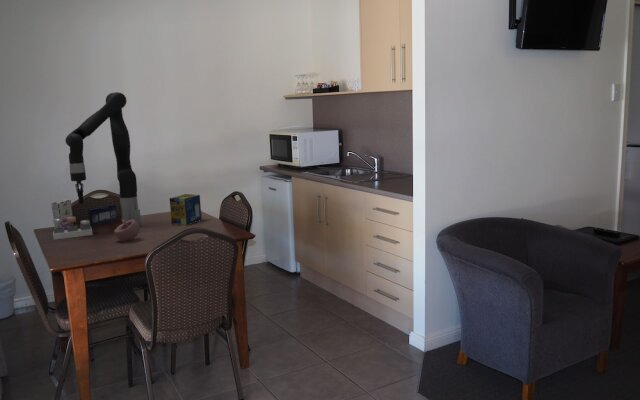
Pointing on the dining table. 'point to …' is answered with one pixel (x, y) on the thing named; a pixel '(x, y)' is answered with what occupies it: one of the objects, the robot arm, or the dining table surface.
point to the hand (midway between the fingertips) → (81, 203)
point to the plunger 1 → (57, 221)
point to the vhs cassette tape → (102, 215)
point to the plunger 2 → (84, 222)
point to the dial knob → (71, 220)
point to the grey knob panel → (72, 232)
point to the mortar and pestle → (127, 230)
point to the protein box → (185, 209)
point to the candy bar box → (62, 212)
